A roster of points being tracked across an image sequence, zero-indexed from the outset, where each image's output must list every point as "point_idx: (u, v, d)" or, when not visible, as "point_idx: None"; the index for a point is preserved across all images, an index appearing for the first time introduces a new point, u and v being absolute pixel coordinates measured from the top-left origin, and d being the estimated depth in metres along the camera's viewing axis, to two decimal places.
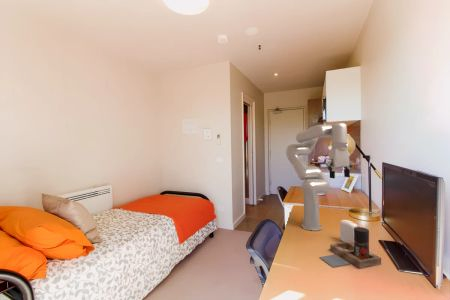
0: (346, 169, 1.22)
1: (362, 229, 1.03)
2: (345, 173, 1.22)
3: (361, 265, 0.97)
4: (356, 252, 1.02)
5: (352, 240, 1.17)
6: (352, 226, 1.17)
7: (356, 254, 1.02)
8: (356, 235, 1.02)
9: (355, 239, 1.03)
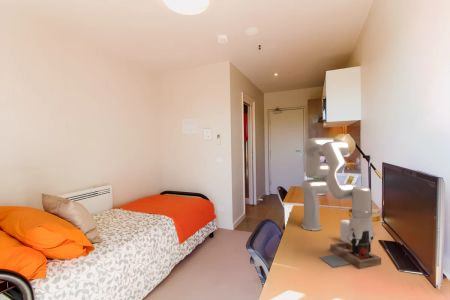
0: None
1: None
2: None
3: (361, 265, 0.97)
4: None
5: None
6: None
7: (356, 254, 1.02)
8: None
9: (355, 239, 1.03)
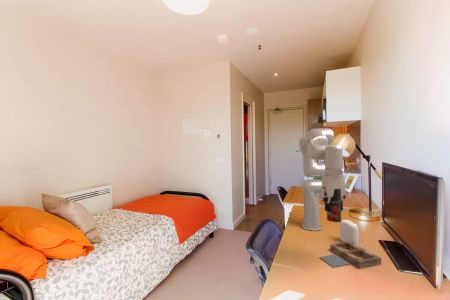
0: None
1: None
2: None
3: (361, 265, 0.97)
4: None
5: (352, 240, 1.17)
6: (352, 226, 1.17)
7: (329, 212, 1.02)
8: None
9: (327, 198, 1.03)
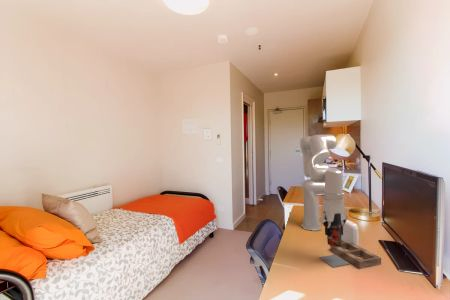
0: None
1: None
2: None
3: (361, 265, 0.97)
4: None
5: (352, 240, 1.17)
6: (352, 226, 1.17)
7: (329, 237, 1.02)
8: None
9: None
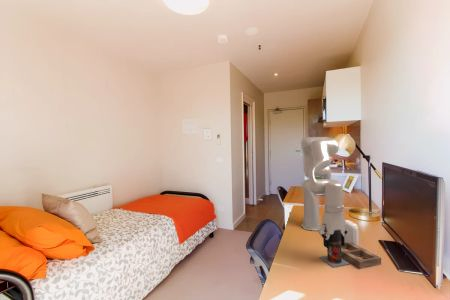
0: None
1: None
2: None
3: (361, 265, 0.97)
4: (329, 251, 1.03)
5: (352, 240, 1.17)
6: (352, 226, 1.17)
7: (329, 253, 1.03)
8: None
9: None
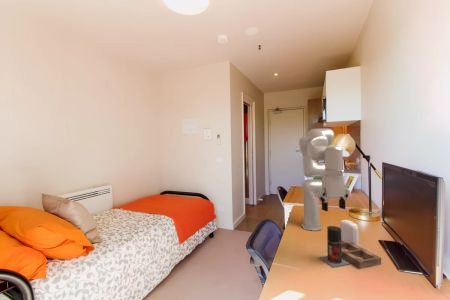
0: (341, 199, 1.04)
1: (335, 228, 1.03)
2: (340, 204, 1.05)
3: (361, 265, 0.97)
4: (329, 251, 1.03)
5: (352, 240, 1.17)
6: (352, 226, 1.17)
7: (329, 253, 1.03)
8: (329, 234, 1.03)
9: (328, 238, 1.03)
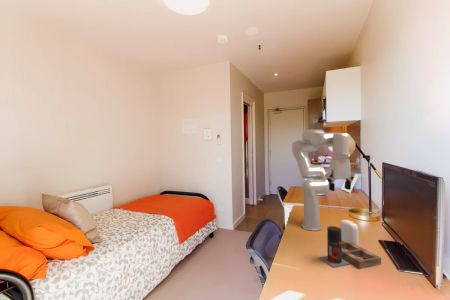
0: (347, 181, 1.16)
1: (335, 228, 1.03)
2: (346, 185, 1.16)
3: (361, 265, 0.97)
4: (329, 251, 1.03)
5: (352, 240, 1.17)
6: (352, 226, 1.17)
7: (329, 253, 1.02)
8: (329, 234, 1.02)
9: (328, 238, 1.03)
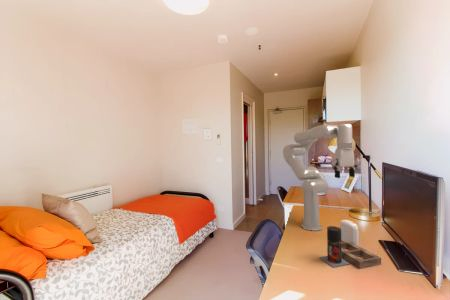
0: (351, 169, 1.24)
1: (335, 228, 1.03)
2: (350, 173, 1.24)
3: (361, 265, 0.97)
4: (329, 251, 1.03)
5: (352, 240, 1.17)
6: (352, 226, 1.17)
7: (329, 253, 1.02)
8: (329, 234, 1.02)
9: (328, 238, 1.03)
